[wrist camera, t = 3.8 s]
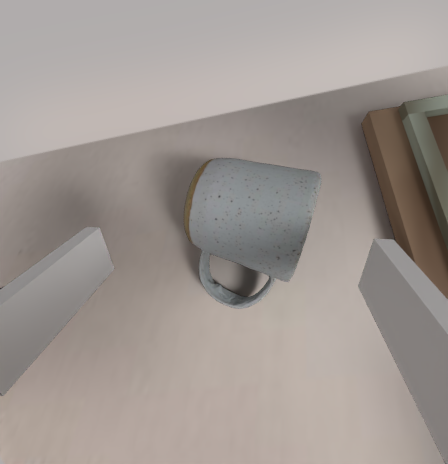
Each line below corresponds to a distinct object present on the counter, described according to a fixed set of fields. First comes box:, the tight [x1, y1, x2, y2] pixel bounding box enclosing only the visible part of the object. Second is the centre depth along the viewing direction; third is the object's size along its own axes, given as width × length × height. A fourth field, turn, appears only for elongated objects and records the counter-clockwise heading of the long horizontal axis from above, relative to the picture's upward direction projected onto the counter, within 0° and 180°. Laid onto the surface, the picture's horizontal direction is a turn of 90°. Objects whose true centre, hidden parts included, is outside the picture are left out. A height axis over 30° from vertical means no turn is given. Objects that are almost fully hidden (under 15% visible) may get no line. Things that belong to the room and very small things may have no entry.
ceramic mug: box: [184, 158, 321, 309], centre depth 17 cm, size 11×8×8 cm
